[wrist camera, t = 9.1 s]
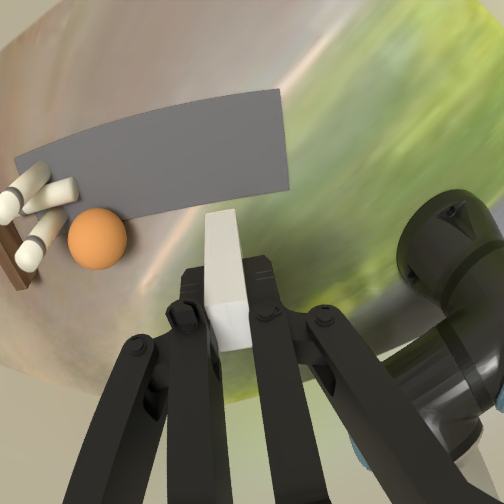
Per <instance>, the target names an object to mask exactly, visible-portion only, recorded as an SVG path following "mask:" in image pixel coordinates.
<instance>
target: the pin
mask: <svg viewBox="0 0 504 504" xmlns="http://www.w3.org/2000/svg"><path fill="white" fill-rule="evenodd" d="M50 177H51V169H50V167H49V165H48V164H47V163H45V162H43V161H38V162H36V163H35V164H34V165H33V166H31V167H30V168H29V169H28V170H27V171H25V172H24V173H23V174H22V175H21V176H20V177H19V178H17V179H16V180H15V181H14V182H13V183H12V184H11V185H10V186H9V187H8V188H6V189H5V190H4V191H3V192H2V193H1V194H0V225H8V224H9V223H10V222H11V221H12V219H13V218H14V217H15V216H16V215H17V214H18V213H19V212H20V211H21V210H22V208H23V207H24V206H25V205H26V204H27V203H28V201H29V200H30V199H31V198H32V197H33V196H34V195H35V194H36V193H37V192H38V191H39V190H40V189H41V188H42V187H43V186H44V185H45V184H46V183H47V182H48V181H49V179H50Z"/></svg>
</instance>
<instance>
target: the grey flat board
mask: <svg viewBox="0 0 504 504" xmlns="http://www.w3.org/2000/svg"><path fill="white" fill-rule="evenodd" d="M38 161H43V162H45V163H47V164H48V165H49V167H50V169H51V177H50V179H49V181H48V182H47V183H46V184H45V185H47V184H50V183H53V182H56V181H59V180H63V179H66V178H69V177H73V178H75V181H76V184H77V186H78V189H79V197H78V199H77V201H74V202H70V203H66V204H63V205H62V206H63V207H64V208H65V209H66V210H67V213H68V219H67V221H66V222H65V224H64V225H63V227H62V228H61V230H60V231H59V233H58V234H57V236H59V235H63V234H67V233H69V229H70V226H71V224H72V222H73V221H74V219H75V218H76V217H77V216H78V215H79V214H81V213H82V212H84V211H86V210H88V209H91V208H104V209H107V210H110V211H111V212H113V213H114V214H116V215H117V216H118V217H119V218H120V220H121V221H123V220H128V219H132V218H137V217H142V216H146V215H151V214H156V213H161V212H166V211H171V210H176V209H181V208H186V207H192V206H197V205H202V204H208V203H213V202H219V201H225V200H230V199H236V198H242V197H248V196H254V195H260V194H266V193H273V192H279V191H286V190H289V179H288V167H287V156H286V146H285V135H284V125H283V116H282V106H281V97H280V89H271V90H263V91H255V92H248V93H241V94H234V95H228V96H222V97H216V98H210V99H205V100H200V101H195V102H190V103H185V104H180V105H176V106H171V107H167V108H163V109H158V110H154V111H150V112H146V113H142V114H139V115H135V116H131V117H128V118H124V119H121V120H117V121H114V122H111V123H107V124H104V125H101V126H98V127H95V128H92V129H89V130H86V131H83V132H80V133H77V134H74V135H71V136H68V137H66V138H63V139H60V140H58V141H55V142H52V143H50V144H47V145H45V146H42V147H40V148H37V149H35V150H32V151H30V152H28V153H25V154H23V155H21V156H18V157H16V158H14V162H15V164H16V167H17V170H18V173H19V175H20V176H21V175H22V174H23V173H24V172H25V171H27V170H28V169H29V168H30V167H31V166H33V165H34V164H35V163H36V162H38ZM48 209H49V208H48ZM48 209H45V210H41V211H38V212H35V214H36V216H37V218H38V220H39V221H40V219H41V218H42V217H43V216H44V214H45V213H46V212H47V210H48Z"/></svg>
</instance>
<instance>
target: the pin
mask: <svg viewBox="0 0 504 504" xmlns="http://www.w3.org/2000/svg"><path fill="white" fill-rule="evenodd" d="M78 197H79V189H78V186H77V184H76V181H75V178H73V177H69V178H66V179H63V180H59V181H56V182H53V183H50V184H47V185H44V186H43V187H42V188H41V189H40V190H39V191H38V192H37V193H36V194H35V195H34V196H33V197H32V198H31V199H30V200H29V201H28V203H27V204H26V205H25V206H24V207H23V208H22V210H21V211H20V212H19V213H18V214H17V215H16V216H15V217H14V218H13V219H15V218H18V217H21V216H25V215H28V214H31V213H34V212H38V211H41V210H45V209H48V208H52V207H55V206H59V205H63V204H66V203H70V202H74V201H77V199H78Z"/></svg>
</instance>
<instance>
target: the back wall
mask: <svg viewBox="0 0 504 504" xmlns="http://www.w3.org/2000/svg"><path fill="white" fill-rule="evenodd" d="M22 243H23V242H22V240H21V238H20V236H19V234H18V232H17V230H16V228H15V226H14V224H13V222H12V221H11V222H10V223H9V224H8V225H0V265H1V266H2V268H3V270H4V272H5V273H6V275H7V276H8V278H9V280H10V281H11V283H12V285H13V286H14V288H15V289H16V291H18V290H24V289H28V287H29V285H30V283H31V281H32V280H33V278H34V276H35V274H36V272H37V271H38V270H37V268H36V270H35V271H34V272H26V271H24V270H22V269H21V268H20V267H19V266H18V265H17V263H16V261H15V254H16V252H17V251H18V249H19V248H20V246H21V245H22Z"/></svg>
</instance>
